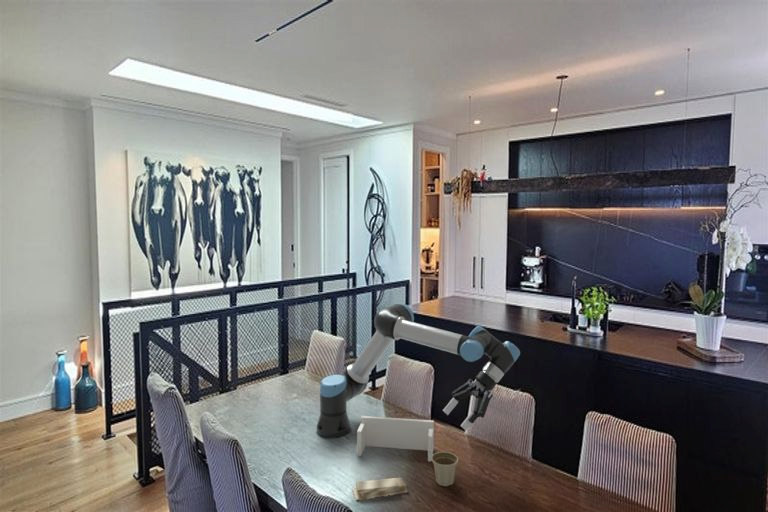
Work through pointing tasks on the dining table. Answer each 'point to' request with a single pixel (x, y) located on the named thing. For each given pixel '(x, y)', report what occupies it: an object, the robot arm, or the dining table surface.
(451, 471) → the flower pot
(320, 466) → the dining table surface
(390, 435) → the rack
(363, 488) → the offcut stack
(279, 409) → the dining table surface
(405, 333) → the robot arm
